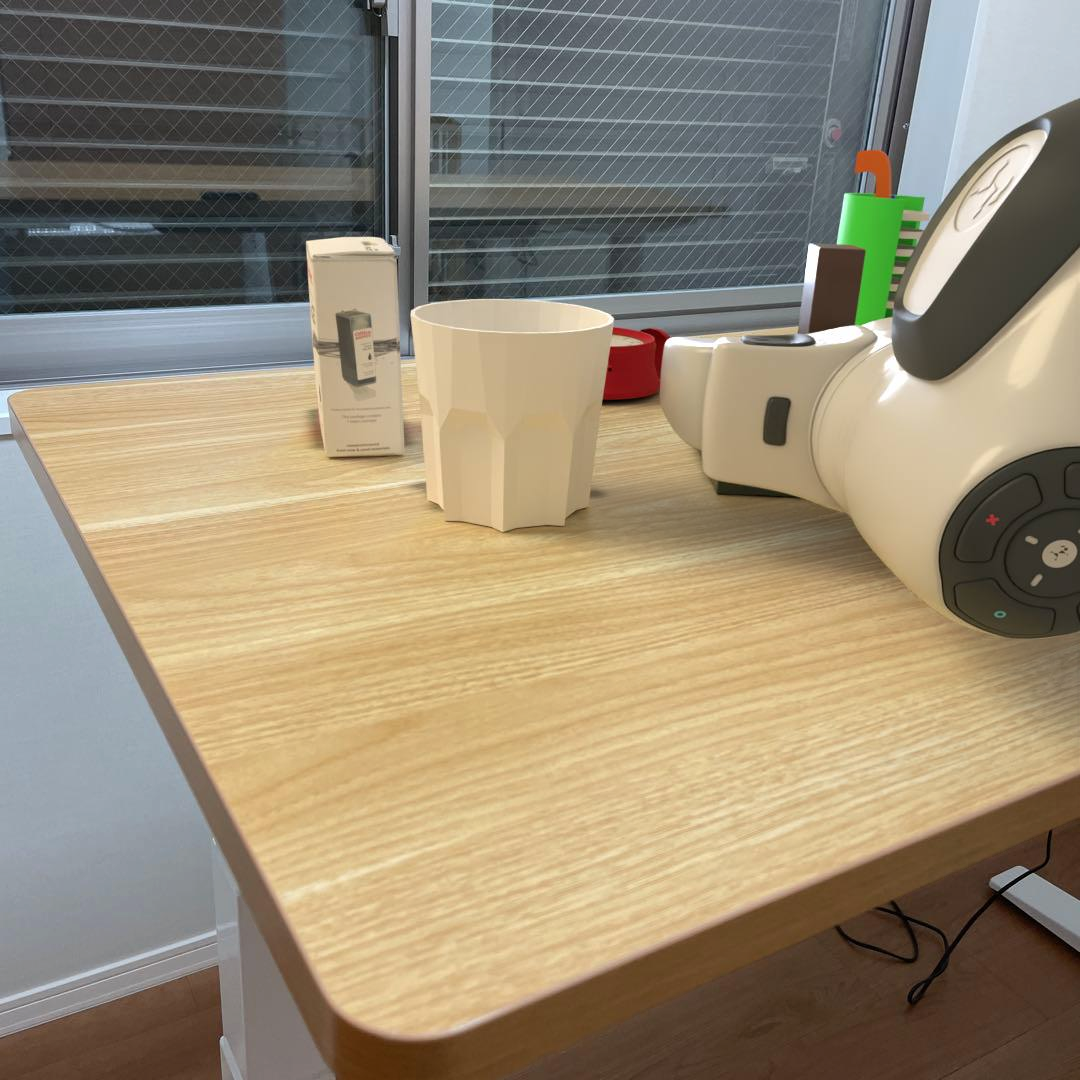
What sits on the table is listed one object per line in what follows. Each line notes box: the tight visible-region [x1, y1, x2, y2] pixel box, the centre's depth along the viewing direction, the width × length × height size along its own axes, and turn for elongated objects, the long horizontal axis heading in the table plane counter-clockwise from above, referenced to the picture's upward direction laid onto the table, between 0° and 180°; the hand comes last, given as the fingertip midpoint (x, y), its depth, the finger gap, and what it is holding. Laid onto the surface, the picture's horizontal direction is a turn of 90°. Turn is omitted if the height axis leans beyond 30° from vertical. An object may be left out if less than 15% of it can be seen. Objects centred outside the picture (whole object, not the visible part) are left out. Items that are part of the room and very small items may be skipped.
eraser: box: [797, 242, 866, 334], centre depth 60 cm, size 8×4×12 cm, turn 179°
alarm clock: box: [602, 326, 672, 401], centre depth 81 cm, size 10×6×15 cm
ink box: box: [305, 236, 405, 458], centre depth 63 cm, size 9×5×12 cm, turn 14°
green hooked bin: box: [836, 149, 931, 325], centre depth 96 cm, size 9×8×18 cm
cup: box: [410, 298, 615, 533], centre depth 53 cm, size 10×10×10 cm
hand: (827, 359), depth 59 cm, fingers open, 8 cm apart
